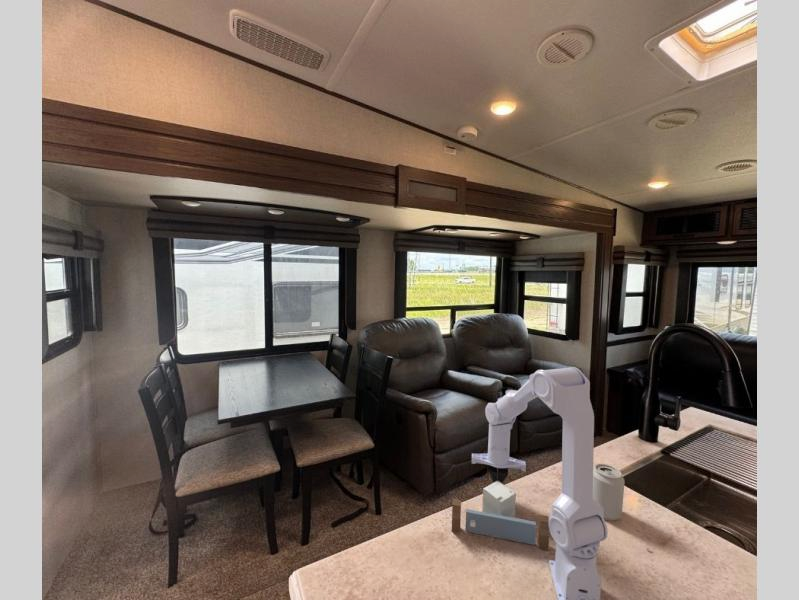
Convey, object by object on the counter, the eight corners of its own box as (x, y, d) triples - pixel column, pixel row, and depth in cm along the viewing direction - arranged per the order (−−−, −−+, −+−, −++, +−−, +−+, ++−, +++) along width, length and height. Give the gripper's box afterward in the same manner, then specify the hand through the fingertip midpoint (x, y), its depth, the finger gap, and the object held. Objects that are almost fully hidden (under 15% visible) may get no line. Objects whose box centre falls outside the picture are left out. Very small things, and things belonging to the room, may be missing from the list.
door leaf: (535, 548, 74) (537, 528, 73) (465, 534, 78) (465, 514, 77) (534, 541, 76) (535, 521, 75) (465, 527, 80) (466, 508, 79)
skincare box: (496, 504, 88) (497, 479, 87) (515, 519, 83) (516, 492, 82) (481, 514, 85) (482, 487, 84) (500, 529, 80) (501, 501, 79)
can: (611, 503, 89) (614, 462, 88) (627, 524, 82) (631, 479, 81) (583, 500, 90) (586, 460, 89) (597, 521, 83) (600, 477, 82)
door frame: (548, 550, 74) (550, 522, 73) (451, 531, 79) (452, 504, 78) (546, 543, 76) (548, 516, 75) (452, 525, 81) (453, 499, 80)
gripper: (524, 440, 92) (521, 484, 94) (472, 433, 96) (471, 476, 97) (527, 454, 85) (525, 501, 87) (472, 446, 89) (470, 492, 90)
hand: (496, 489), depth 91 cm, fingers closed
